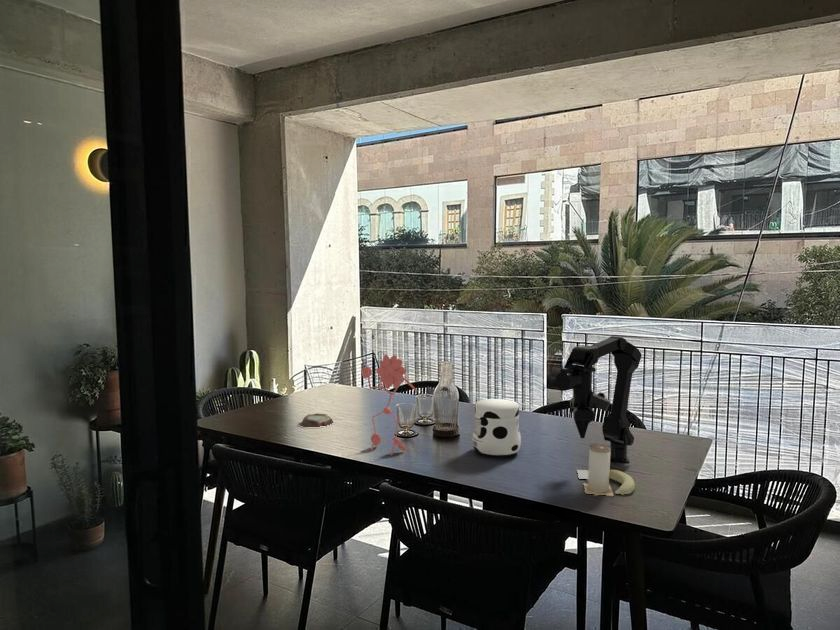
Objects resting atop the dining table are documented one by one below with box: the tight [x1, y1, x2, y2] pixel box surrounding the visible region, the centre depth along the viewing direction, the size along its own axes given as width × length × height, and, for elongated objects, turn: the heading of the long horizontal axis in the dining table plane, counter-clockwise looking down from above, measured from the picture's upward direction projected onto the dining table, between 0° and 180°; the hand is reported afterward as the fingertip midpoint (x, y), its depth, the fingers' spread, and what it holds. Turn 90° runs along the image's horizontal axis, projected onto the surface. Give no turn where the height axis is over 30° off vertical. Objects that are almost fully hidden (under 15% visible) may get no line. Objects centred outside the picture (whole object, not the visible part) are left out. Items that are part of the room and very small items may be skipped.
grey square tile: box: [576, 469, 589, 480], centre depth 189 cm, size 8×8×1 cm
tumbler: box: [587, 443, 611, 493], centre depth 176 cm, size 6×6×13 cm
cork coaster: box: [582, 482, 615, 497], centre depth 177 cm, size 8×8×1 cm
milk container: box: [472, 398, 522, 458], centre depth 211 cm, size 17×17×18 cm
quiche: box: [297, 413, 334, 428], centre depth 251 cm, size 21×20×4 cm
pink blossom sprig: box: [361, 354, 419, 459], centre depth 216 cm, size 15×26×35 cm, turn 56°
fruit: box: [609, 469, 636, 496], centre depth 180 cm, size 7×15×3 cm, turn 175°
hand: (581, 434), depth 190 cm, fingers open, 9 cm apart
